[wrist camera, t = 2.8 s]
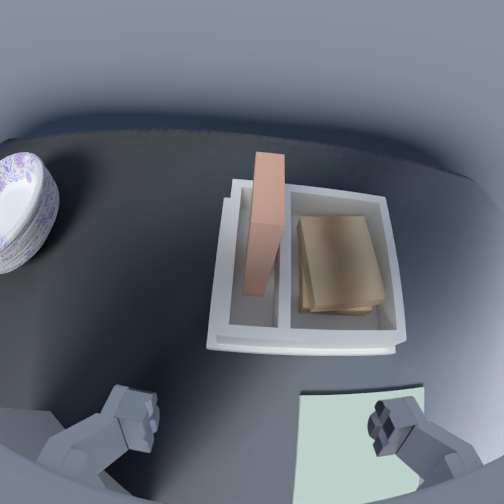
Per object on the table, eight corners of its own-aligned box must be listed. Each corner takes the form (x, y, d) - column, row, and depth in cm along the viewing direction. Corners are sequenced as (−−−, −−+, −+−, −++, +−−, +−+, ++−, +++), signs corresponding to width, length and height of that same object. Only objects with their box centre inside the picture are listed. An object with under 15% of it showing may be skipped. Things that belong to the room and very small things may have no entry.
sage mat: (421, 387, 27) (424, 386, 26) (413, 501, 20) (415, 502, 20) (299, 395, 26) (300, 395, 26) (289, 522, 20) (290, 524, 19)
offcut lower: (357, 239, 33) (363, 230, 32) (364, 315, 29) (372, 310, 27) (298, 233, 33) (301, 223, 31) (298, 313, 29) (302, 307, 27)
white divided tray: (375, 218, 36) (391, 194, 32) (390, 354, 28) (415, 345, 24) (224, 202, 36) (223, 174, 31) (207, 349, 28) (202, 339, 23)
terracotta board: (265, 242, 32) (284, 154, 21) (263, 296, 30) (284, 225, 18) (246, 241, 32) (256, 151, 21) (242, 295, 30) (251, 222, 18)
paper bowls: (-9, 302, 27) (-47, 277, 20) (-12, 216, 33) (-39, 186, 26) (79, 254, 31) (48, 217, 24) (63, 171, 37) (43, 133, 30)
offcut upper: (357, 226, 32) (364, 216, 30) (377, 305, 28) (385, 298, 26) (296, 227, 31) (300, 216, 29) (309, 312, 27) (315, 305, 25)
